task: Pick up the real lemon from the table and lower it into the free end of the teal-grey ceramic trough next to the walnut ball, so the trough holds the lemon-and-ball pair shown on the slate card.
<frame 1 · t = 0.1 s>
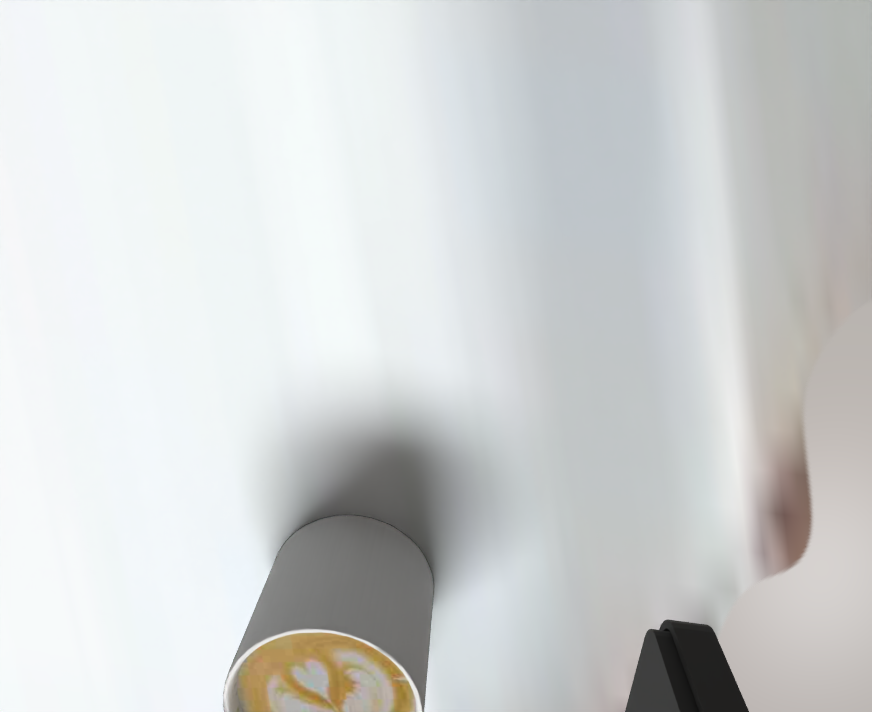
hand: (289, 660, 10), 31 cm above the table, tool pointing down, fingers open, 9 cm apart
coffee mug: (349, 606, 48), on the table
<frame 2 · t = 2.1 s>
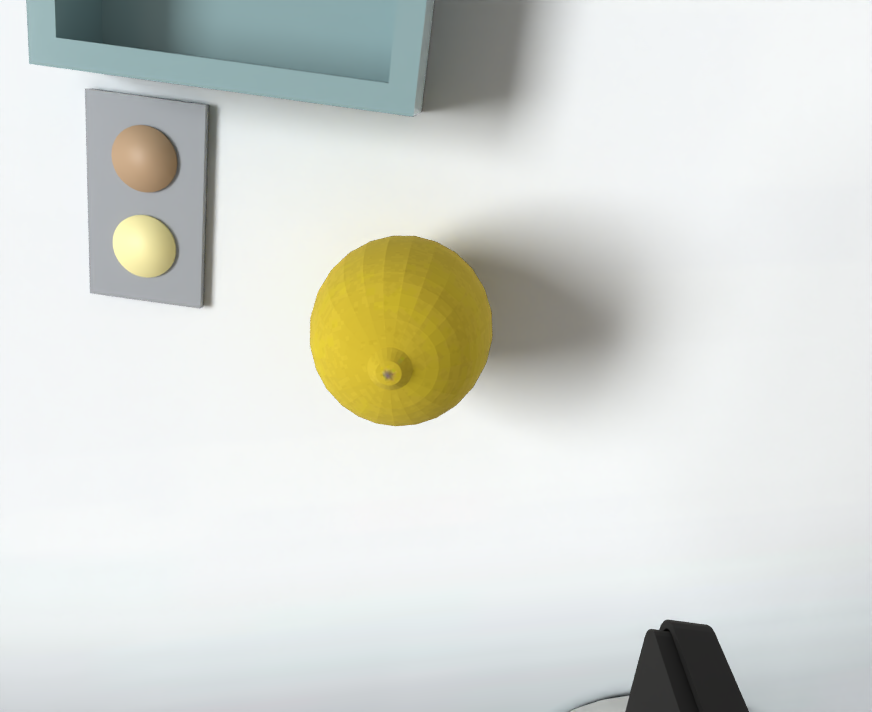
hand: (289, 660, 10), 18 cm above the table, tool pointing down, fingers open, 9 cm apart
lemon: (413, 293, 28), on the table
pair card: (148, 202, 27), on the table
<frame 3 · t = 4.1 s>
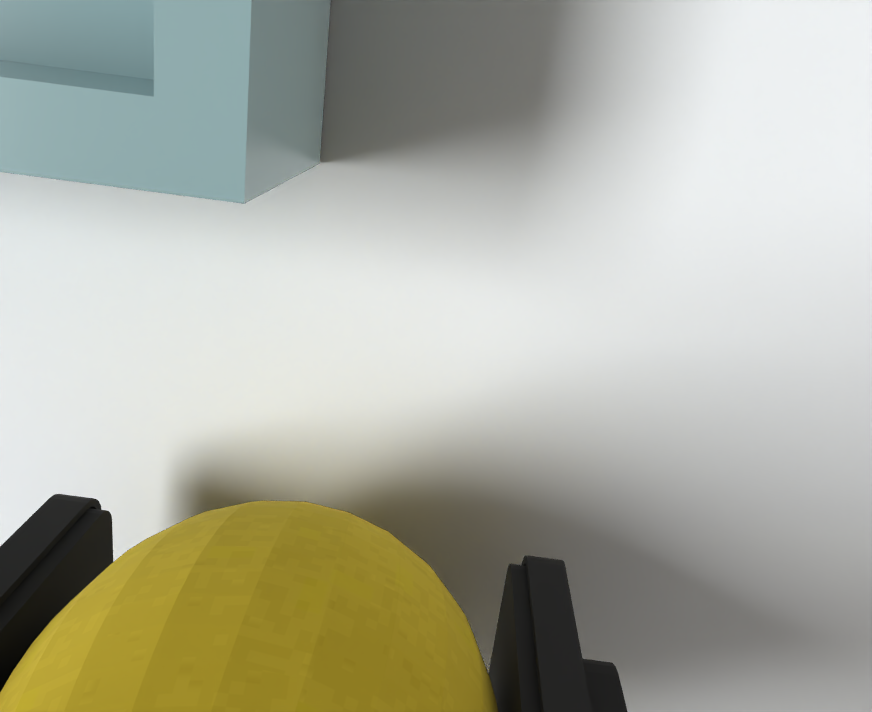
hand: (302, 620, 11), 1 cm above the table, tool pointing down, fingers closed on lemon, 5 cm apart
lemon: (323, 557, 12), on the table, touching gripper
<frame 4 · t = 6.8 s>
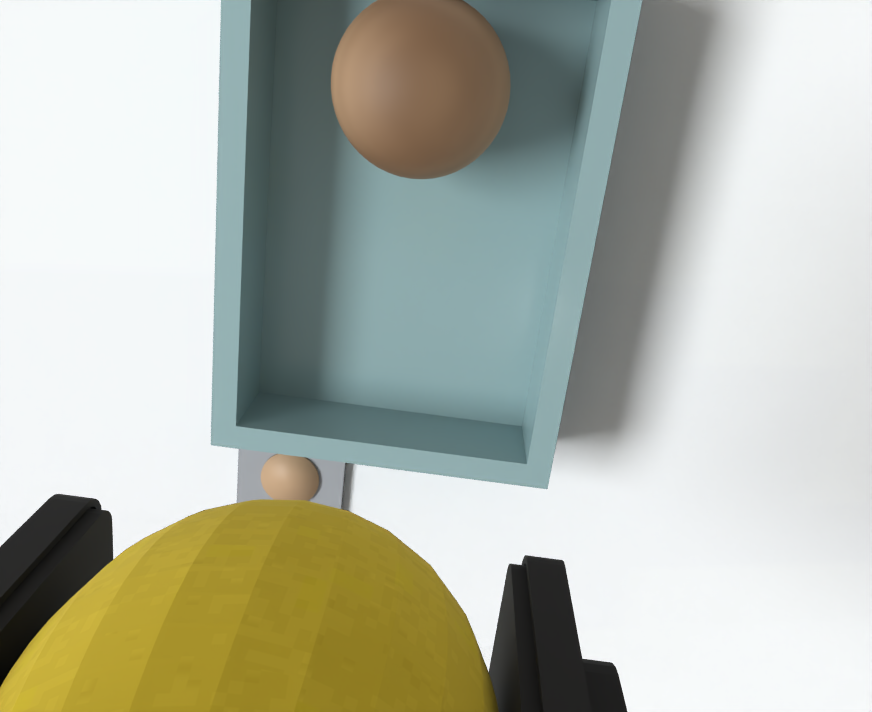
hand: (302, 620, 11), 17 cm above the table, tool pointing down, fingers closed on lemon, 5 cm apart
lemon: (322, 556, 12), point 15 cm above the table, touching gripper
walnut ball: (426, 86, 24), point 1 cm above the table, touching trough
trough: (413, 212, 26), on the table
pair card: (289, 508, 30), on the table
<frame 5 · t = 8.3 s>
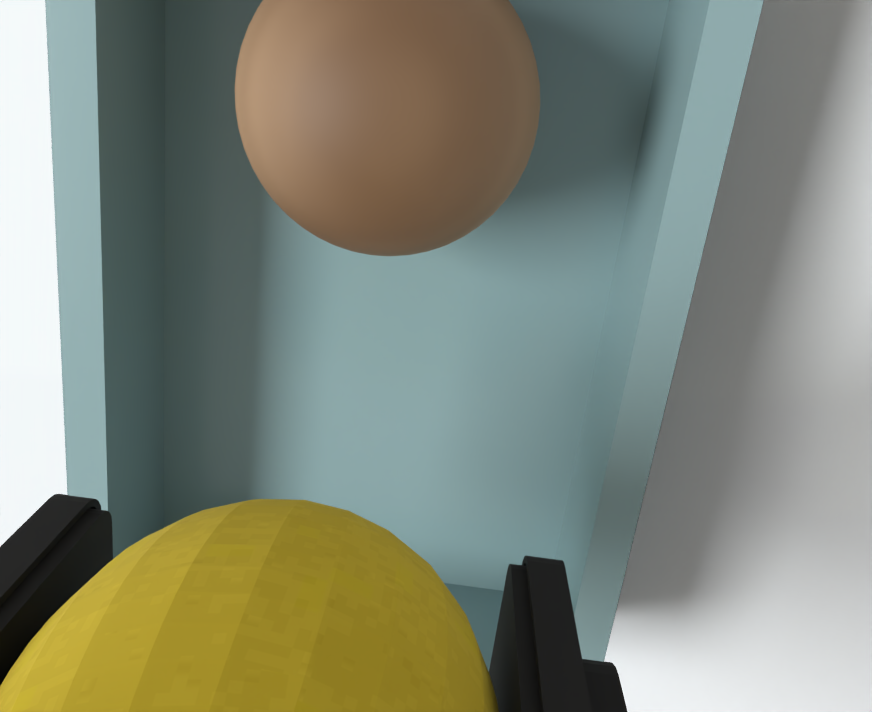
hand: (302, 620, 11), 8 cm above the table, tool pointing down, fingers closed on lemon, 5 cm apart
lemon: (322, 556, 12), point 6 cm above the table, touching gripper
walnut ball: (402, 102, 15), point 1 cm above the table, touching trough
trough: (386, 290, 17), on the table
when the fingers open (4 cm above the table, at t = 9.4 s): lemon drops 2 cm, resting on trough.
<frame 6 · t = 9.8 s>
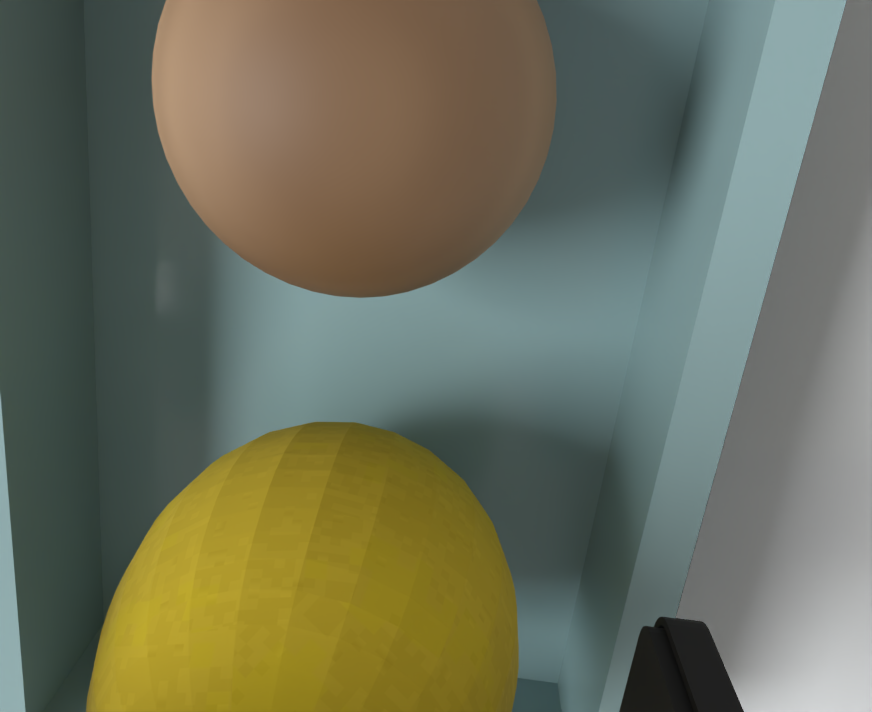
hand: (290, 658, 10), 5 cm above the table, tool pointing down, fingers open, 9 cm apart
lemon: (363, 486, 15), resting on trough
walnut ball: (381, 98, 12), point 1 cm above the table, touching trough
trough: (364, 325, 14), on the table
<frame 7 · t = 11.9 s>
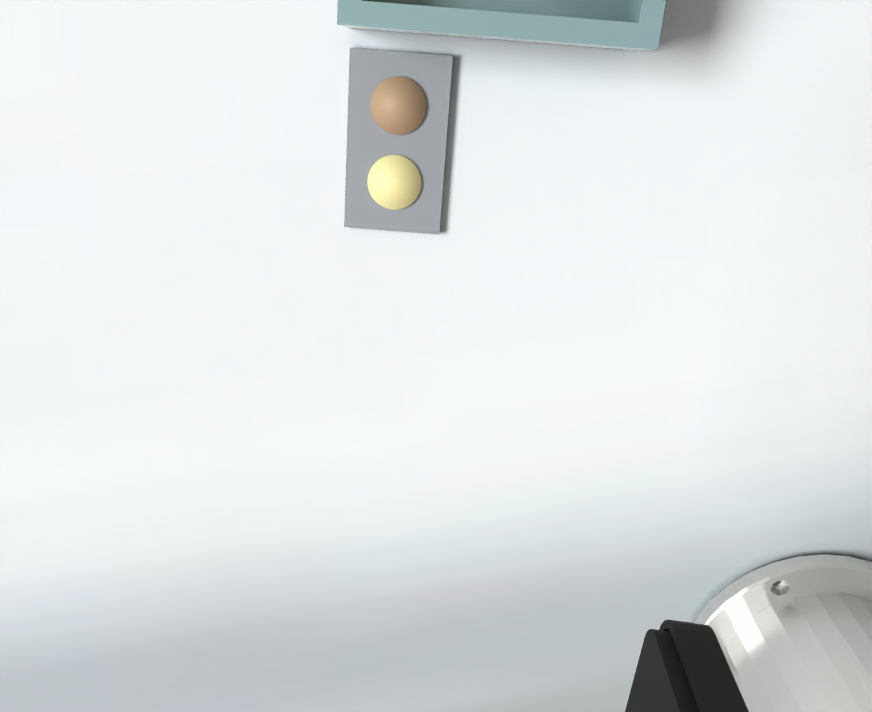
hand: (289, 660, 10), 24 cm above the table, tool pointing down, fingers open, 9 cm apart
pair card: (397, 143, 31), on the table
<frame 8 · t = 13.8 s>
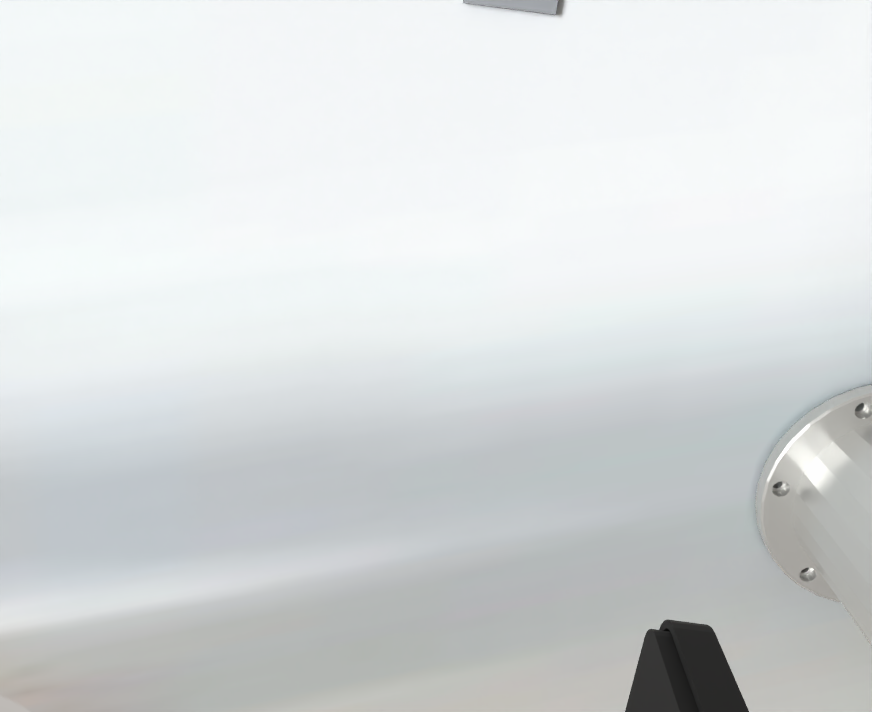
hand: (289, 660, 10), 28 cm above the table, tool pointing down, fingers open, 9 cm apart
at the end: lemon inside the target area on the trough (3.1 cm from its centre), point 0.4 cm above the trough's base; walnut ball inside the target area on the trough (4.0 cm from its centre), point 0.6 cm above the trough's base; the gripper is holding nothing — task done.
